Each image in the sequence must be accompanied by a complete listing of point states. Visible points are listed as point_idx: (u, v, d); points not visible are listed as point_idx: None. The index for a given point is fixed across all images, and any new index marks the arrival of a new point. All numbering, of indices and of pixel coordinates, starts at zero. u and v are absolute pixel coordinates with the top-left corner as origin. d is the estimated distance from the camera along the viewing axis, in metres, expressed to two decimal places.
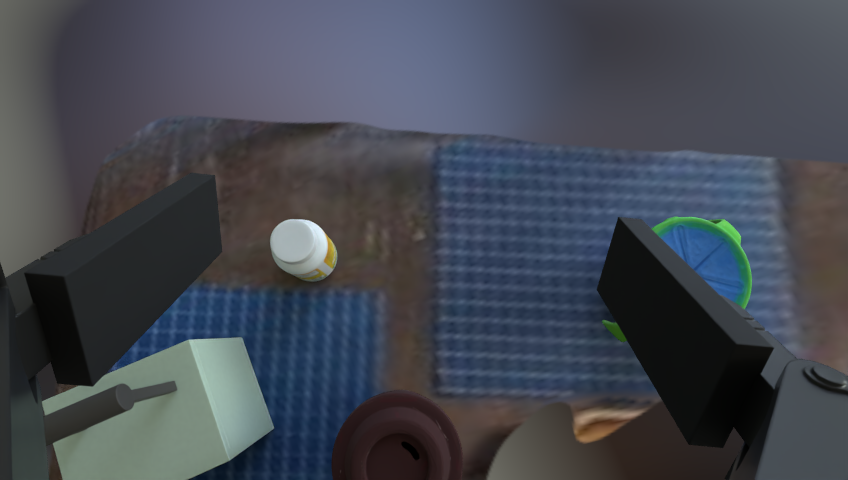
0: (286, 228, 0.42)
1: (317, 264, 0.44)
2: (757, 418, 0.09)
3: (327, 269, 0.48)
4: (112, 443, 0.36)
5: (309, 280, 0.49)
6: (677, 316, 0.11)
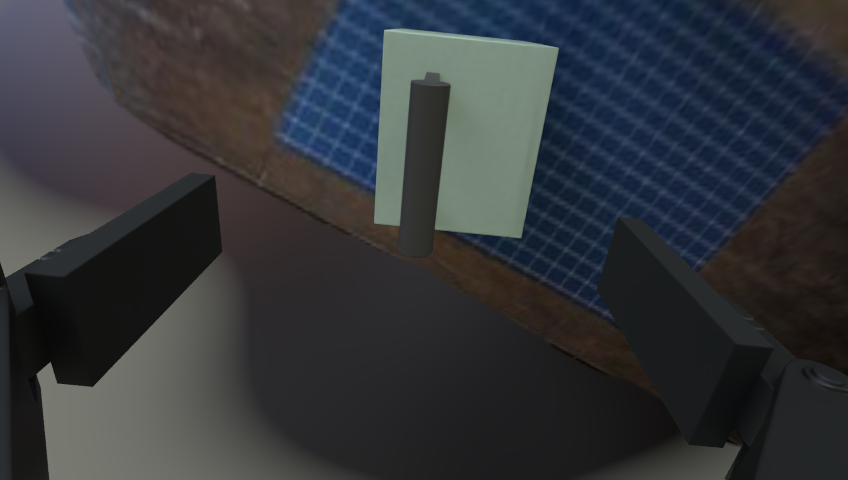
0: None
1: None
2: (757, 418, 0.09)
3: None
4: (458, 171, 0.30)
5: None
6: (677, 316, 0.11)
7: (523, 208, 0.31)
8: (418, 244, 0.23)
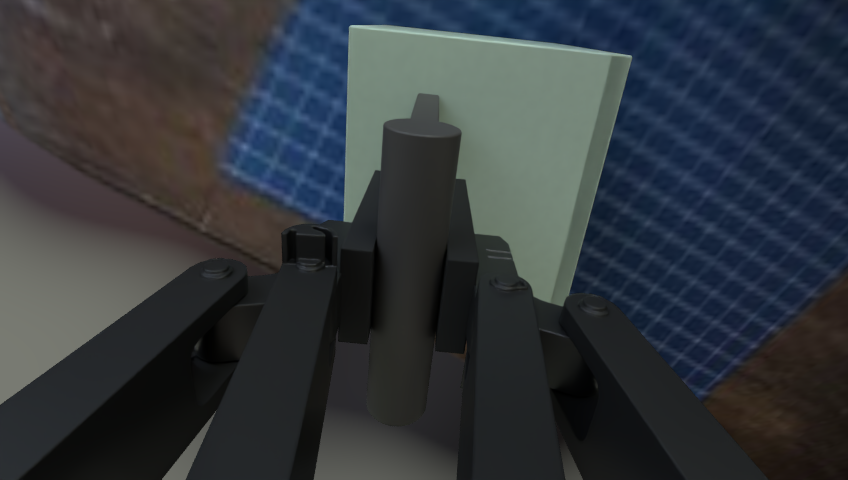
0: None
1: None
2: (470, 331, 0.11)
3: None
4: None
5: None
6: None
7: (563, 294, 0.20)
8: (401, 406, 0.13)
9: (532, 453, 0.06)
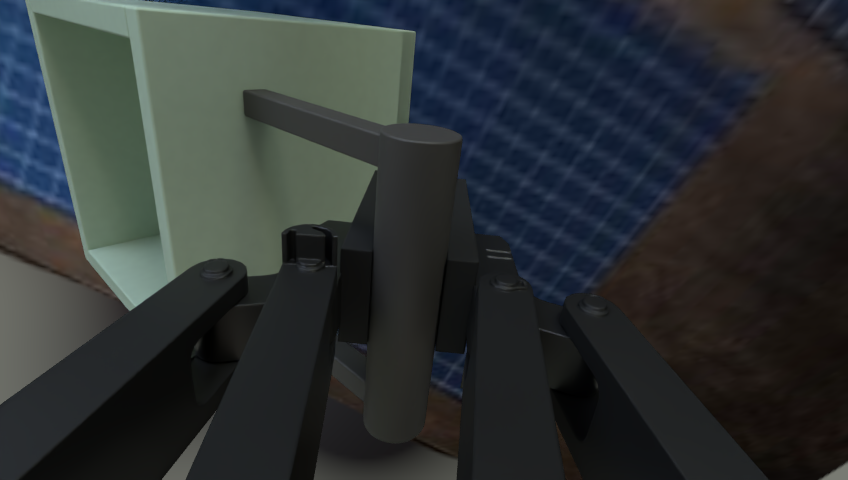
0: None
1: None
2: (470, 331, 0.11)
3: None
4: None
5: None
6: None
7: None
8: (421, 413, 0.13)
9: (532, 453, 0.06)
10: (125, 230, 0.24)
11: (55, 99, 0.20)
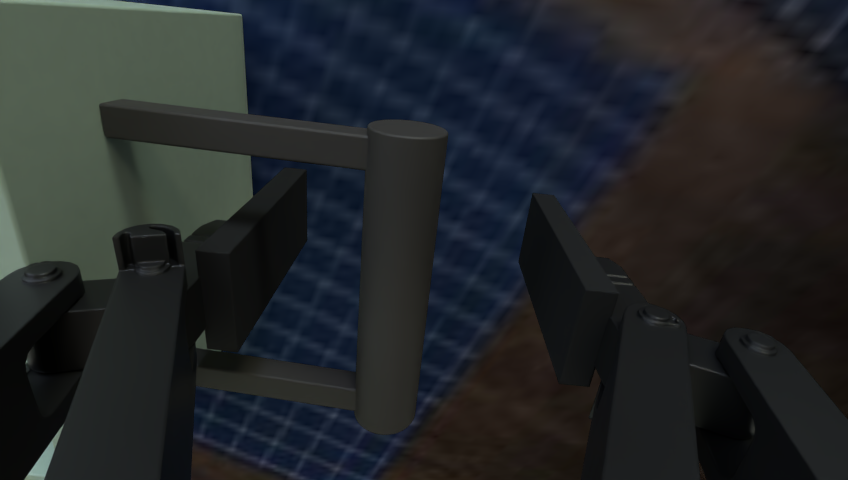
0: None
1: None
2: (608, 360, 0.10)
3: None
4: None
5: None
6: (558, 274, 0.12)
7: None
8: None
9: None
10: None
11: None
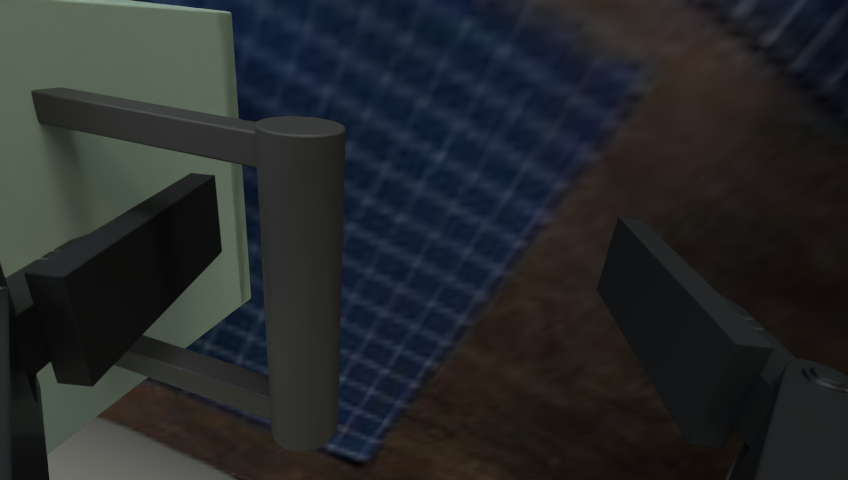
0: None
1: None
2: (757, 418, 0.09)
3: None
4: None
5: None
6: (677, 316, 0.11)
7: (245, 259, 0.21)
8: None
9: None
10: None
11: None
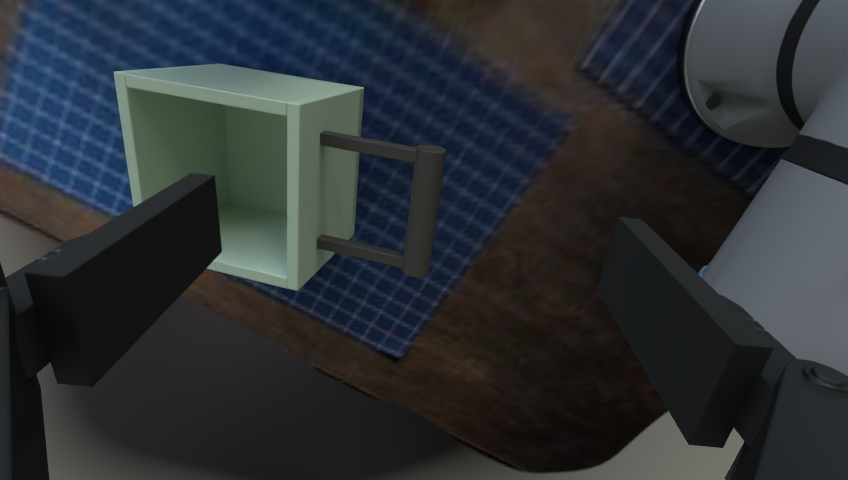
0: None
1: None
2: (757, 418, 0.09)
3: None
4: (333, 206, 0.33)
5: None
6: (677, 316, 0.11)
7: (354, 211, 0.38)
8: (429, 263, 0.31)
9: None
10: None
11: (134, 142, 0.29)
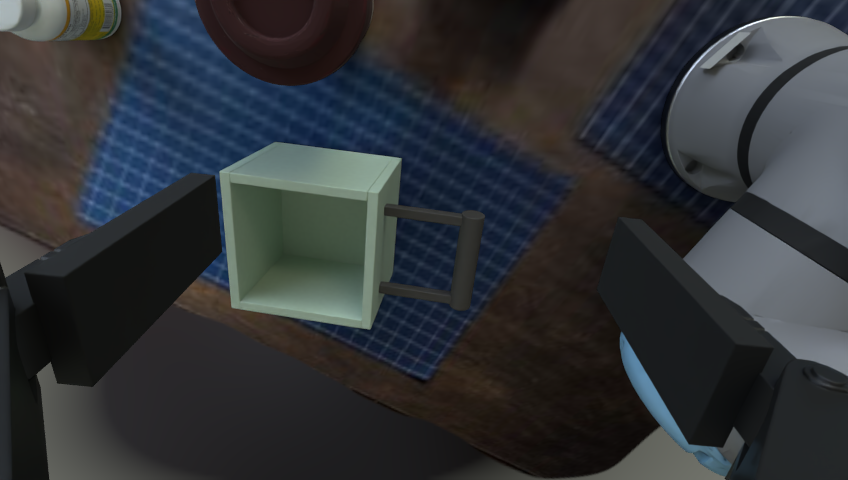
0: None
1: None
2: (757, 418, 0.09)
3: None
4: (386, 257, 0.41)
5: (110, 21, 0.38)
6: (677, 316, 0.11)
7: (393, 254, 0.46)
8: None
9: None
10: (249, 285, 0.40)
11: (233, 223, 0.36)
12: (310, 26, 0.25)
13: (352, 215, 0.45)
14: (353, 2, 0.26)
